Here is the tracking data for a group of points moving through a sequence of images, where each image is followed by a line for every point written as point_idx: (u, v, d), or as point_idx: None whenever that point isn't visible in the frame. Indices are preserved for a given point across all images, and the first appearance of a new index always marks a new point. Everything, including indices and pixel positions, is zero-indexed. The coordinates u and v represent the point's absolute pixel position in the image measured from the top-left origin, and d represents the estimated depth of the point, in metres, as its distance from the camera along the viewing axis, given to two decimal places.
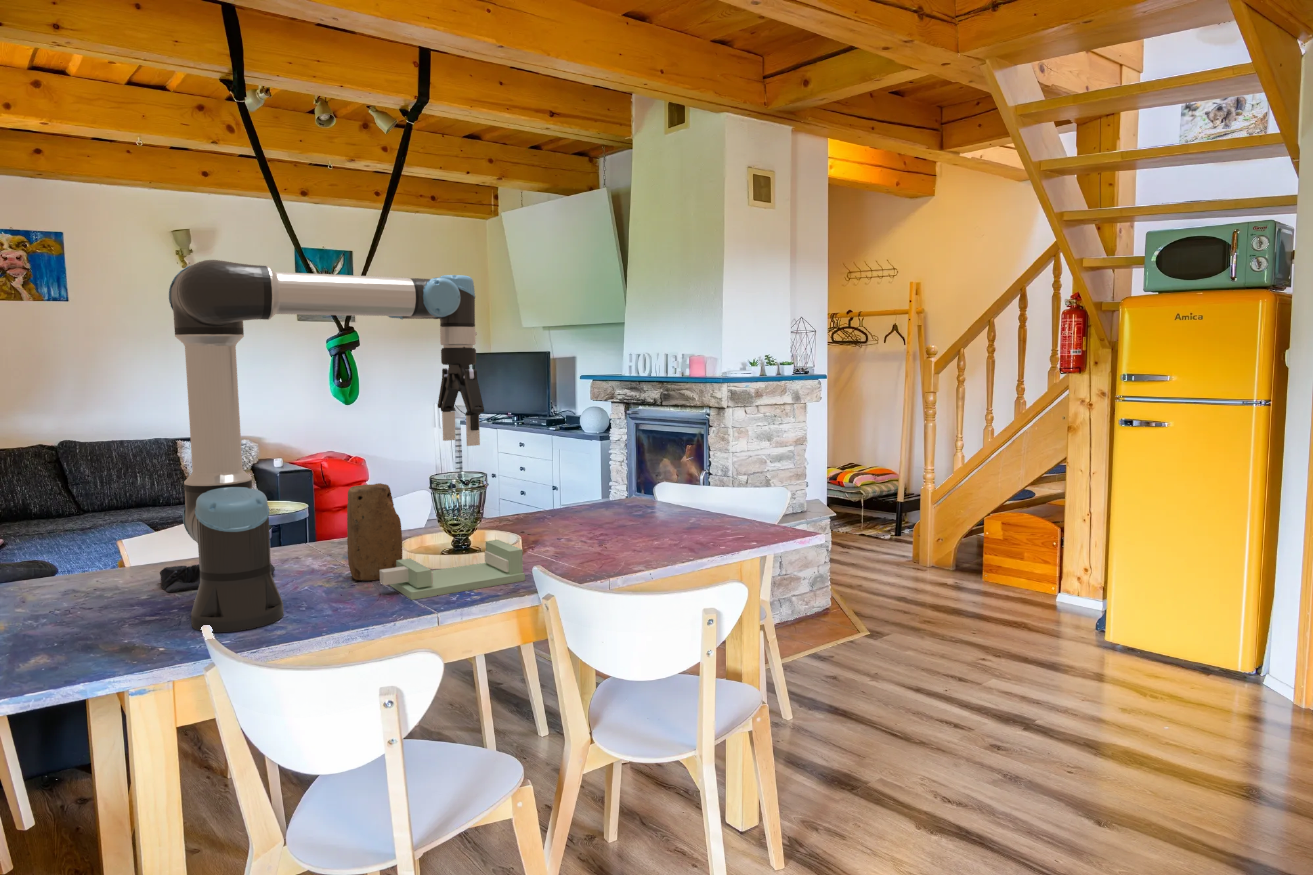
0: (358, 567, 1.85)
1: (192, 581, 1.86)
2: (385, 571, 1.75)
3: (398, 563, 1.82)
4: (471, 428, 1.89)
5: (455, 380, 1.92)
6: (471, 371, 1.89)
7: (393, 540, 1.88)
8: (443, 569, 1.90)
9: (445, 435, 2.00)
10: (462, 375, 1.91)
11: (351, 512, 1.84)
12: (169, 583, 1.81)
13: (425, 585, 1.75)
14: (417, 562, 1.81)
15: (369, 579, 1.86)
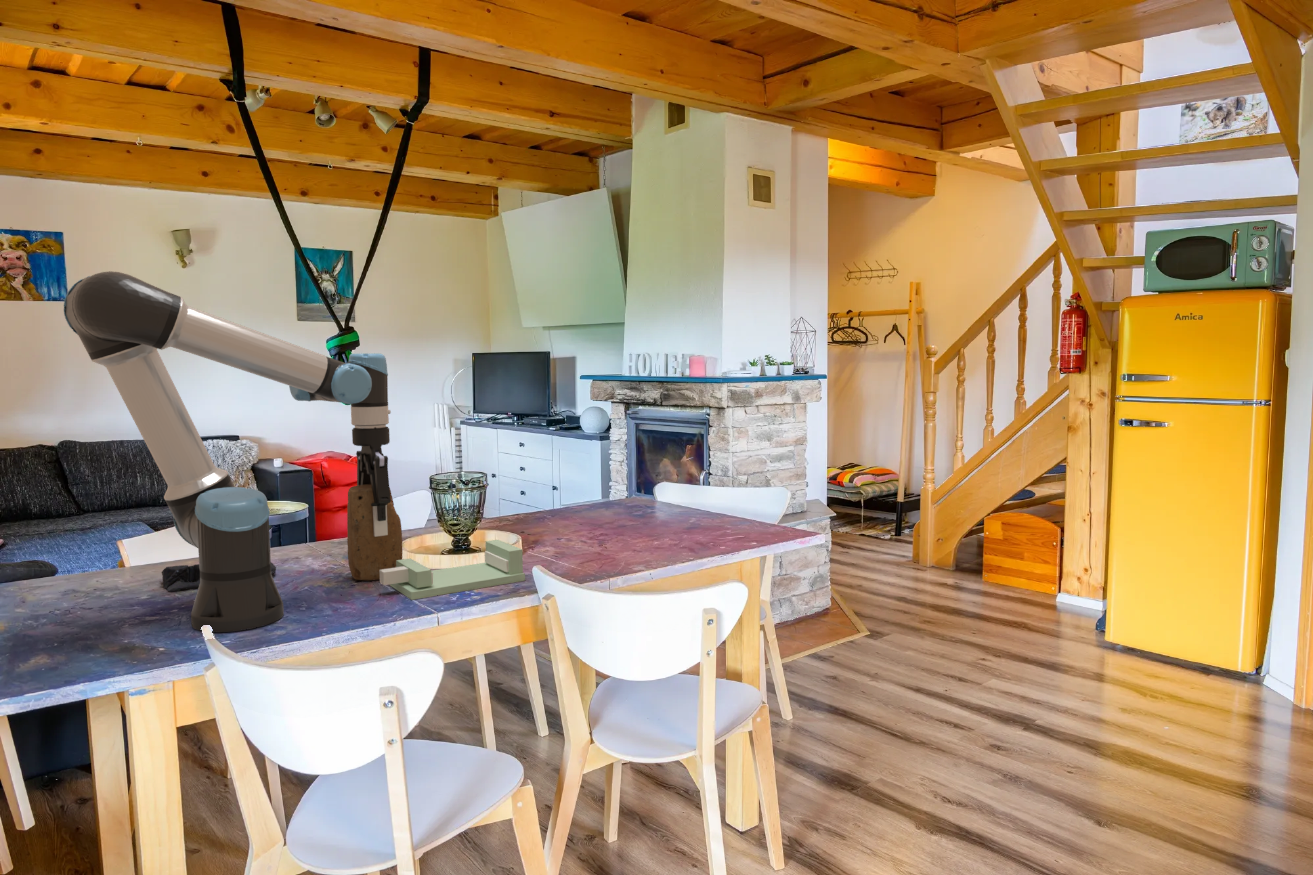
0: (358, 567, 1.85)
1: (194, 580, 1.86)
2: (385, 571, 1.75)
3: (398, 563, 1.82)
4: (378, 518, 1.84)
5: (366, 462, 1.85)
6: (382, 459, 1.82)
7: (393, 539, 1.88)
8: (443, 569, 1.90)
9: None
10: (373, 458, 1.84)
11: (351, 512, 1.84)
12: (171, 583, 1.81)
13: (425, 585, 1.75)
14: (417, 562, 1.81)
15: (369, 579, 1.86)
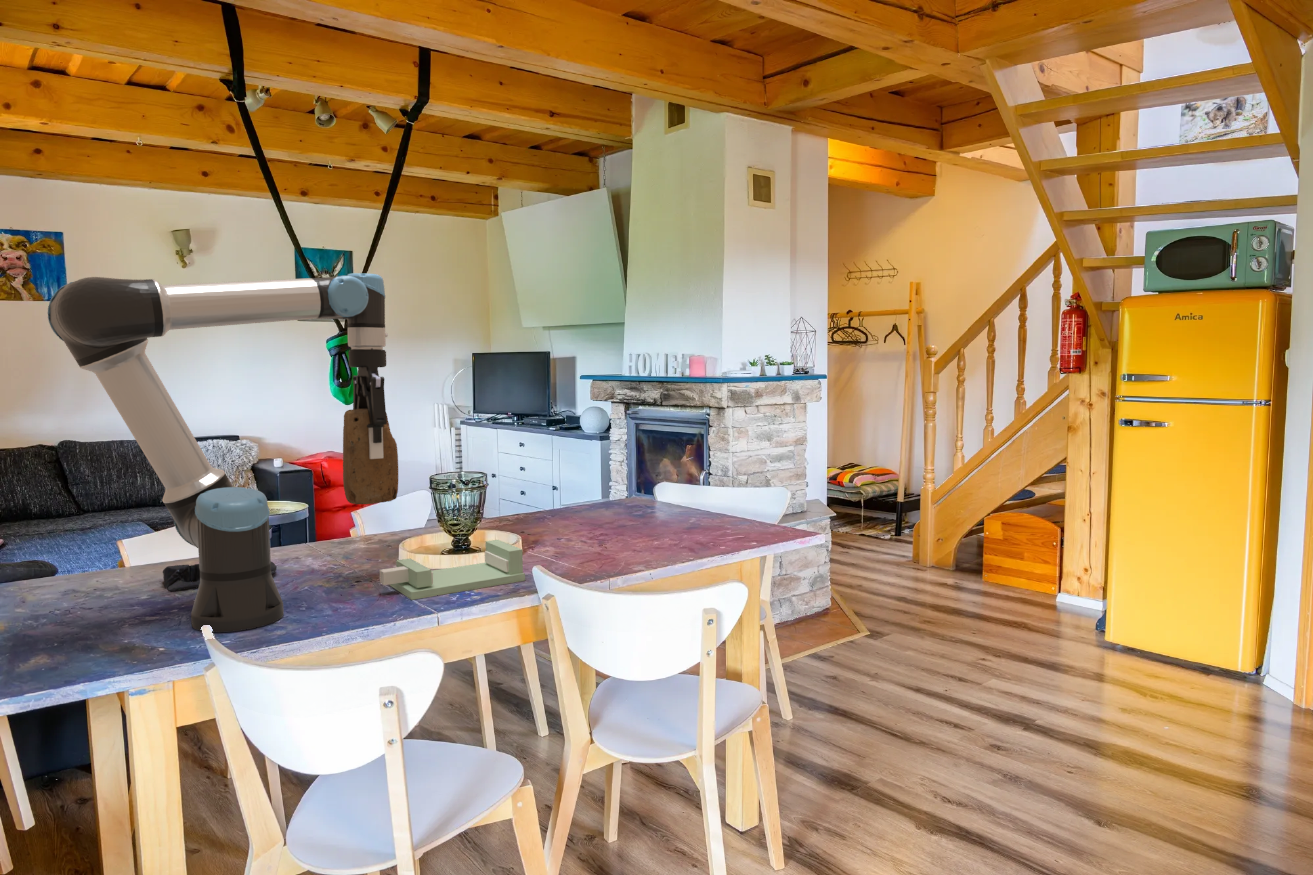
0: (353, 490, 1.83)
1: (194, 580, 1.86)
2: (385, 571, 1.75)
3: (398, 563, 1.82)
4: (373, 440, 1.82)
5: (362, 384, 1.83)
6: (378, 380, 1.80)
7: (389, 464, 1.86)
8: (443, 569, 1.90)
9: None
10: (369, 379, 1.82)
11: (347, 434, 1.82)
12: (172, 582, 1.82)
13: (425, 585, 1.75)
14: (417, 562, 1.81)
15: (364, 502, 1.84)
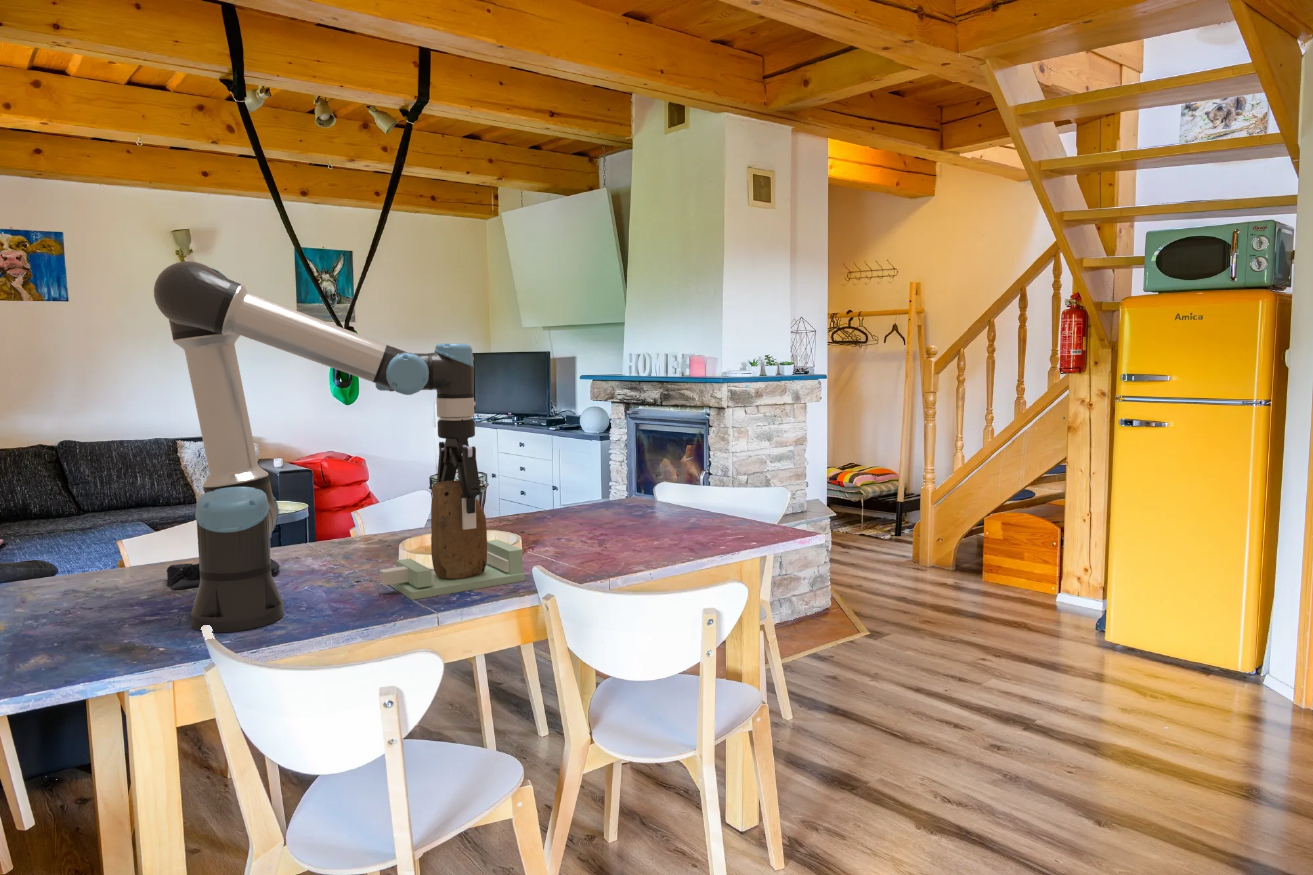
0: (444, 565, 1.80)
1: (198, 579, 1.88)
2: (385, 571, 1.75)
3: (398, 563, 1.82)
4: (467, 511, 1.78)
5: (452, 455, 1.80)
6: (470, 450, 1.77)
7: (479, 537, 1.83)
8: None
9: None
10: (460, 450, 1.79)
11: (438, 508, 1.79)
12: (175, 581, 1.83)
13: (425, 585, 1.75)
14: (417, 562, 1.81)
15: (455, 577, 1.81)
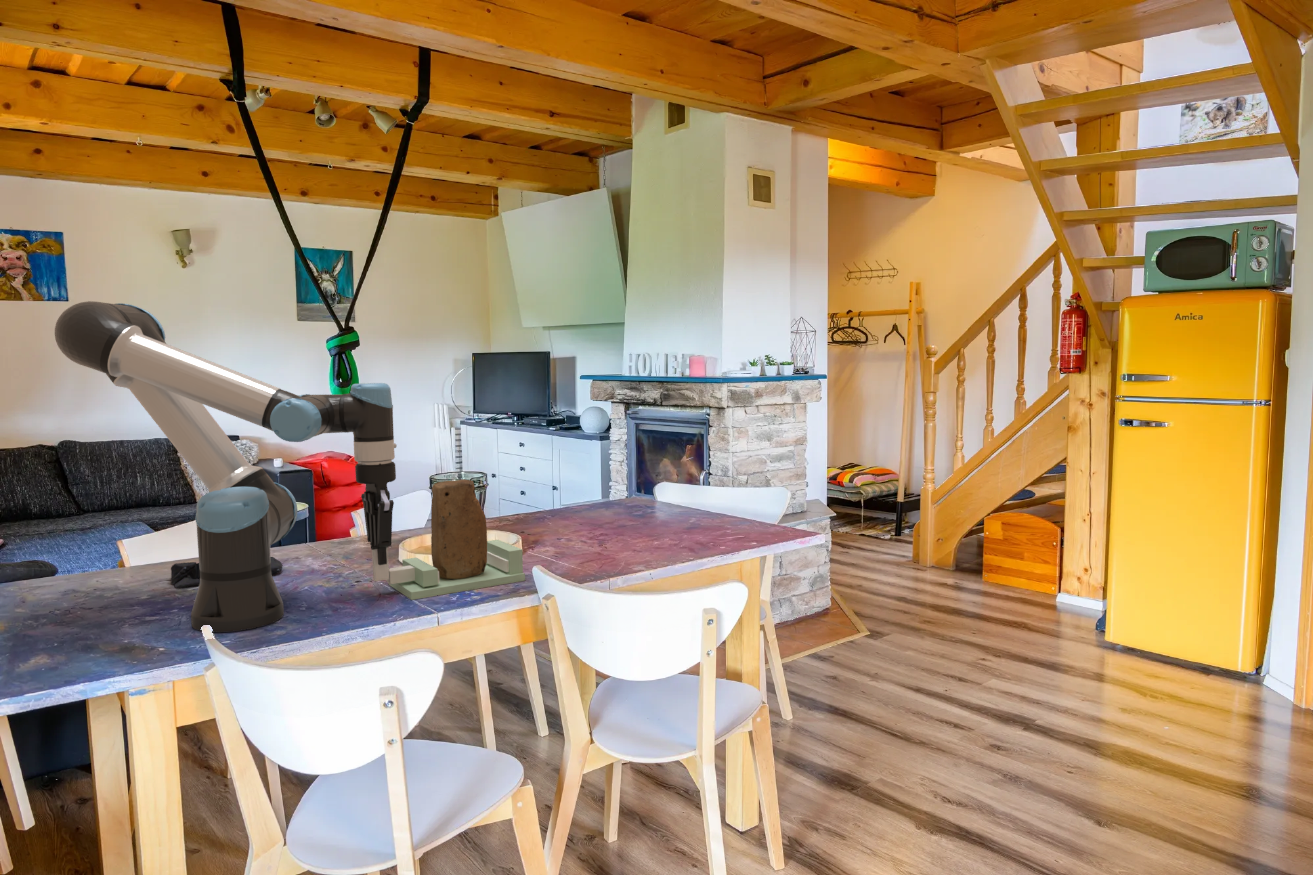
0: (444, 565, 1.80)
1: None
2: (391, 570, 1.76)
3: (404, 562, 1.83)
4: (378, 562, 1.73)
5: (370, 502, 1.71)
6: (387, 505, 1.68)
7: (479, 537, 1.83)
8: None
9: None
10: (377, 498, 1.70)
11: (438, 509, 1.79)
12: (178, 579, 1.84)
13: (431, 584, 1.75)
14: (423, 561, 1.82)
15: (455, 578, 1.81)
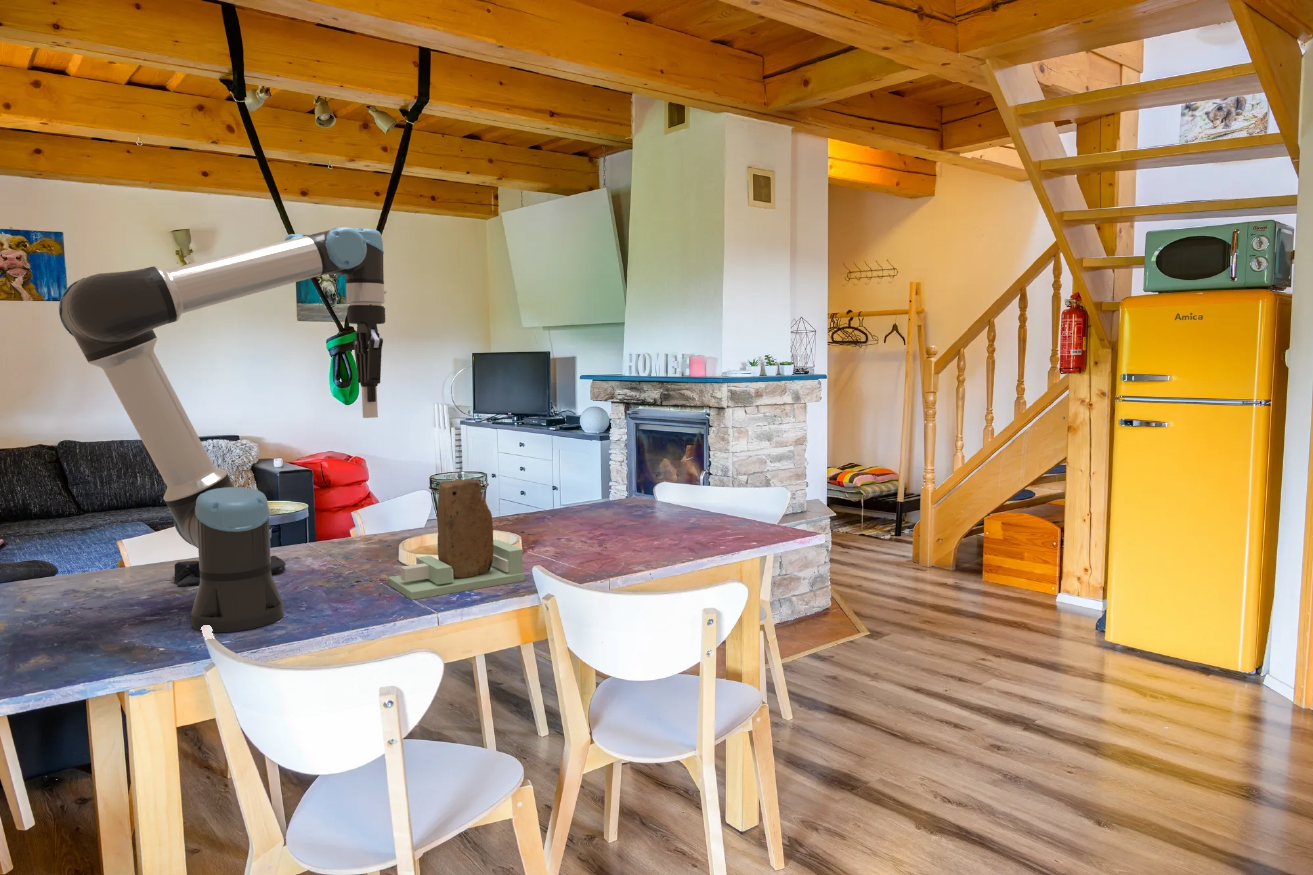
0: (452, 564, 1.81)
1: None
2: (406, 568, 1.77)
3: (418, 560, 1.84)
4: (368, 400, 1.85)
5: (361, 341, 1.83)
6: (377, 342, 1.80)
7: (486, 536, 1.84)
8: None
9: None
10: (368, 336, 1.81)
11: (445, 508, 1.79)
12: (181, 578, 1.85)
13: (446, 582, 1.77)
14: (437, 559, 1.84)
15: (462, 576, 1.82)
